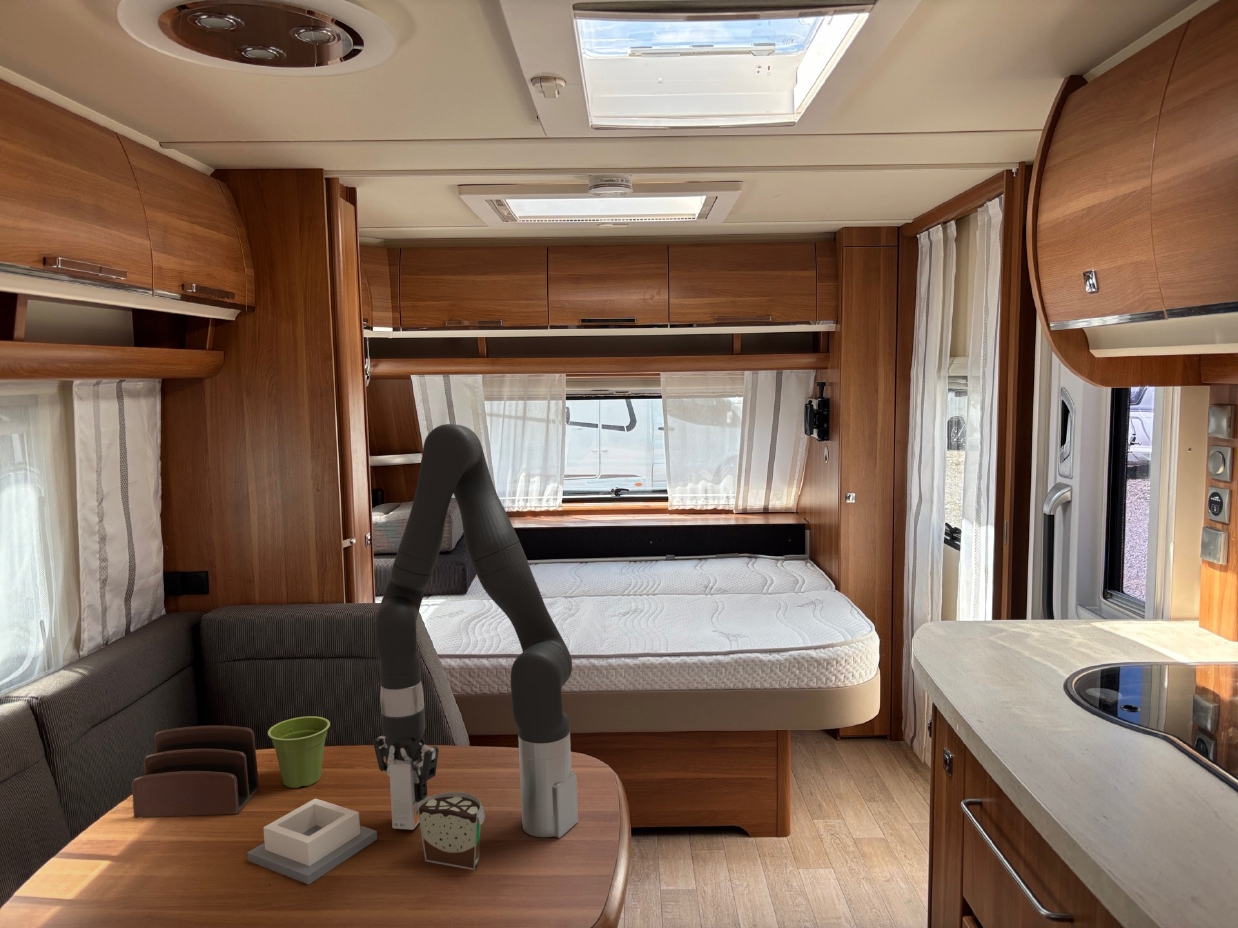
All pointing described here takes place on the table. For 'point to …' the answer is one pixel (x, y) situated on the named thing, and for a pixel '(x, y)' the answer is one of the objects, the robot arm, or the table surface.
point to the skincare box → (403, 795)
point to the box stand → (311, 841)
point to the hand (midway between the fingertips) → (408, 796)
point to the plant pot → (300, 749)
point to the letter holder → (197, 772)
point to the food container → (451, 828)
